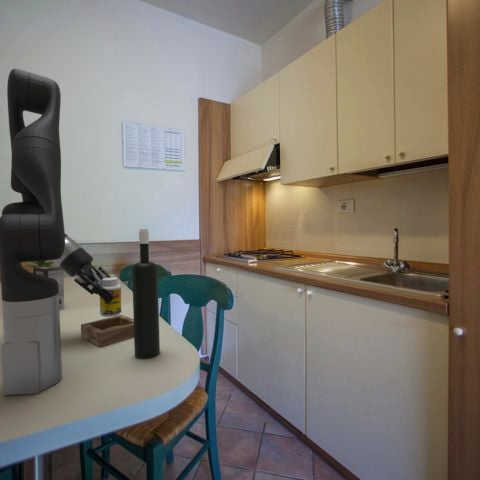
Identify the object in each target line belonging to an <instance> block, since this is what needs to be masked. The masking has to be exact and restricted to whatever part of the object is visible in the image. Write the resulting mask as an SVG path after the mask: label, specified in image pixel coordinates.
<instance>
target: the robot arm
mask: <svg viewBox="0 0 480 480" xmlns="http://www.w3.org/2000/svg"><path fill="white" fill-rule="evenodd" d="M8 74H9V75H8V78H7V85H6V86H7V87H6V90H7V91H6V92H7V94H6V95H7V114H8V128H9V129H8V130H9V138H10V150H11V160H10V161H11V163H10V164H11V165H10V166H11V169H10V188H11V189H12V191H14V192H15V193H17V194H21V198H22V200H21V201H17V202H10V203H8V204H5V205H4V207H3V208H2V211H1V216H0V287H1V288H0V289H1V290H0V291H1V309H2V331H3V343H2V344H1V347H0V350H1V372H2V373H1V374H2V390H3V391H2V395H3V396H15V395H16V396H17V395H19V396H20V395H37V394H39V393H40V392H41V391H44V390H46V389H48V388H51V387H52V386H54V385H55V384H57V383H59V382H60V381H61V379H62V378H63V364H62V363H63V361H62V358H63V357H62V340H61V317H60V316H61V315H60V311H61V310H59V286H58V282H57V280H55V279H53V278H49V277H44V276H40V275H36V274H34V273H33V272H32V271H29V270H27V269H26V268H24V266H23V264H22V263H27V262H29V263H32V262H31V261H34V262H36V261H45V262H49V261H53V262H54V264H56V265H57V267H61V268H62V269H63V272H65V273H66V274H67V275H68V276H70V277H71V278H75V279H74V282H75V283H76V284H77V285H79V286H80V287H81V288H82V289H84V290H85V291H86V292H88V293H89V294H90V295H94V294H95V295H98V296H99V298H100V297H101V298H102V299H103V300H105V301H106V302H107V303H110V302H111V301H112V300H113V299H114V296H113V295H112V294H110V293H109V292H108V291H107V290H106V289H105V288H104V287H103V286H102V285H103V279H104V278H112V277H111V275H110V274H109V273H107V271H106V269H104V268H103V267H102V266H99V267H98V268H97V267H95V266H93V265H92V262H93V261H94V258H93V256H91V254H90V253H88V252H87V251H86V250H85V249H84V248H83V247H82V246H81V245H80V244H79V243H78V242H77V241H76V240H74V239H72V238H71V237H70V236H69V235H68V234H67V233H66V231H65V223H64V221H65V220H64V215H63V205H62V204H63V203H62V192H61V191H62V188H61V185H62V182H61V181H62V153H61V152H62V150H61V142H60V141H61V137H60V119H61V118H60V117H61V115H60V114H61V100H62V99H61V98H62V97H61V96H62V95H61V89H60V86H59V84H58V83H57V81H55V80H53V79H52V78H49V77H46V76H43V75H40V74H37V73H33V72H30V71H26V70H23V69H20V68H12V69H11V70H10V72H9V73H8ZM24 111H25V112H30V113H33V114H37V115H41V116H40V117H39V118H37V119H36V120H34V121H33V122H31V123H30V124H28V125H25V120H24ZM103 288H104V289H103Z"/></svg>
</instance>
